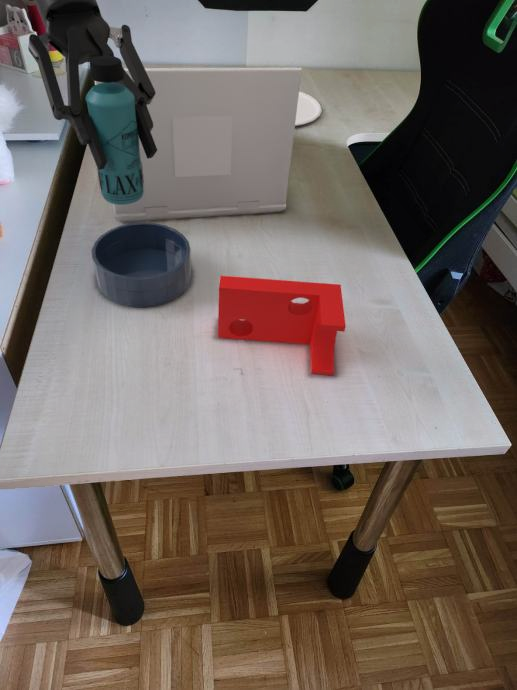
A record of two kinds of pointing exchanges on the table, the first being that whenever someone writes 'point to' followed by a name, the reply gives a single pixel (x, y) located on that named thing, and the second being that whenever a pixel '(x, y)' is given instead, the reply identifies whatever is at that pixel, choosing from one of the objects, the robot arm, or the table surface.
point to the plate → (307, 109)
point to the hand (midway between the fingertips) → (128, 159)
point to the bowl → (142, 264)
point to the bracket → (283, 315)
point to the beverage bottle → (115, 132)
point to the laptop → (217, 143)
